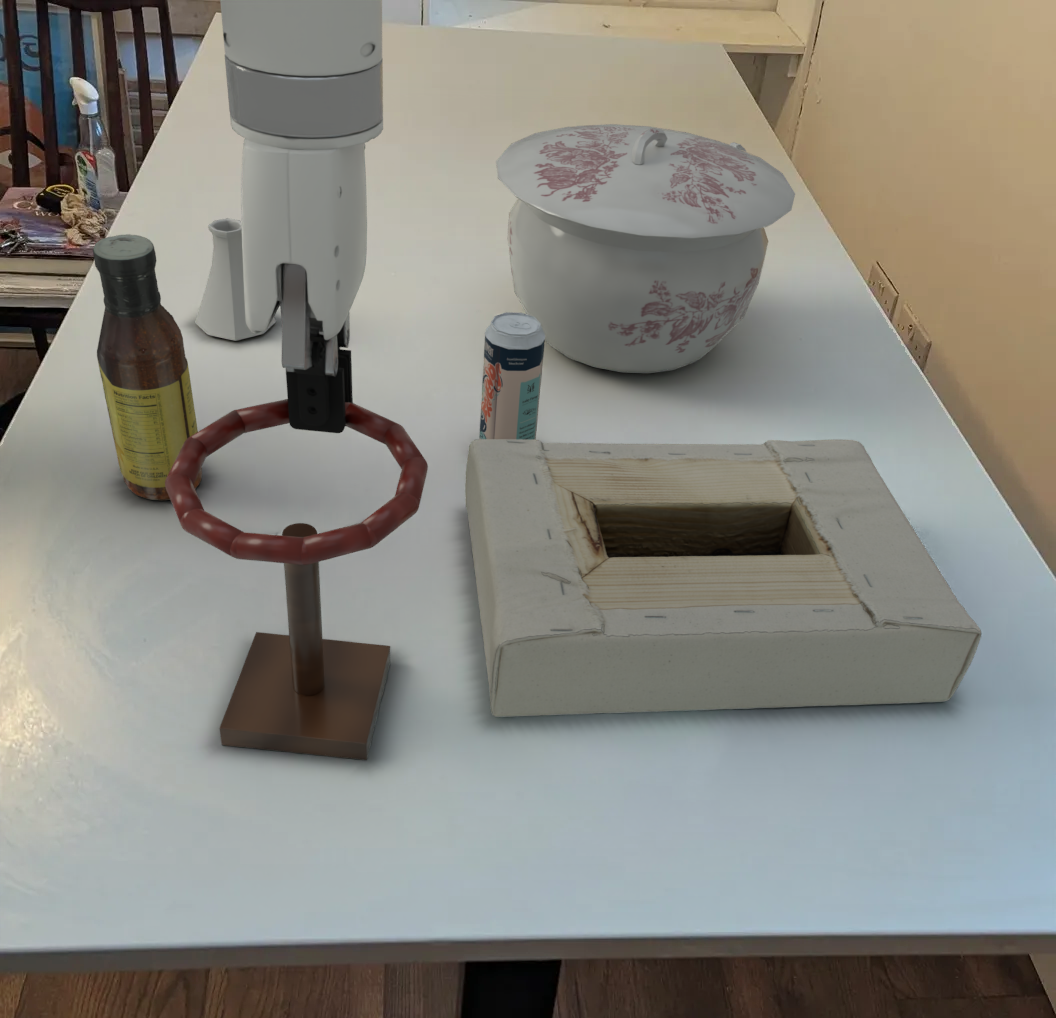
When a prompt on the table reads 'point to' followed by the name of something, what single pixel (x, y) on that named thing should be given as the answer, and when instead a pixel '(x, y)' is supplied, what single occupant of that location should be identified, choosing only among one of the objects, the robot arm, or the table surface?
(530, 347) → the beer can
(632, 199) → the chamber pot
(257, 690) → the post
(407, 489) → the ring
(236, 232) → the flask
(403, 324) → the table surface
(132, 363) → the sauce bottle
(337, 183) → the robot arm
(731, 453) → the box
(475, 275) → the table surface
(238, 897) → the table surface
